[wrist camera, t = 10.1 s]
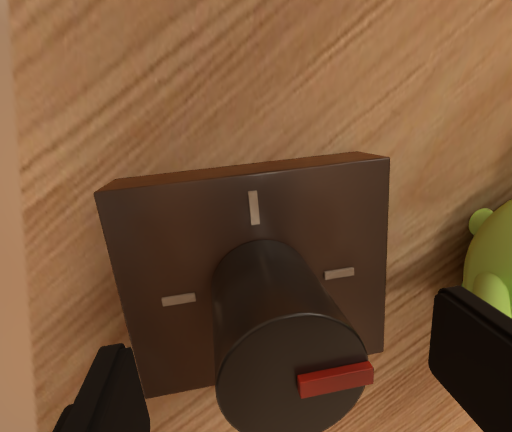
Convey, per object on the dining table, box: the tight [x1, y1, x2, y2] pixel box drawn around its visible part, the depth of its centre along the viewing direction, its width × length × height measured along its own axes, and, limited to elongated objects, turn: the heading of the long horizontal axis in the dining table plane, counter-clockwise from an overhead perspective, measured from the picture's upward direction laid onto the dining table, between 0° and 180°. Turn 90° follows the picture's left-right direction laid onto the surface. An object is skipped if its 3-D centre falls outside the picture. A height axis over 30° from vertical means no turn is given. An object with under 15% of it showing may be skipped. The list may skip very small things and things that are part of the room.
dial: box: [211, 240, 374, 432], centre depth 11 cm, size 4×4×6 cm
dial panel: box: [94, 152, 390, 399], centre depth 15 cm, size 12×10×3 cm
